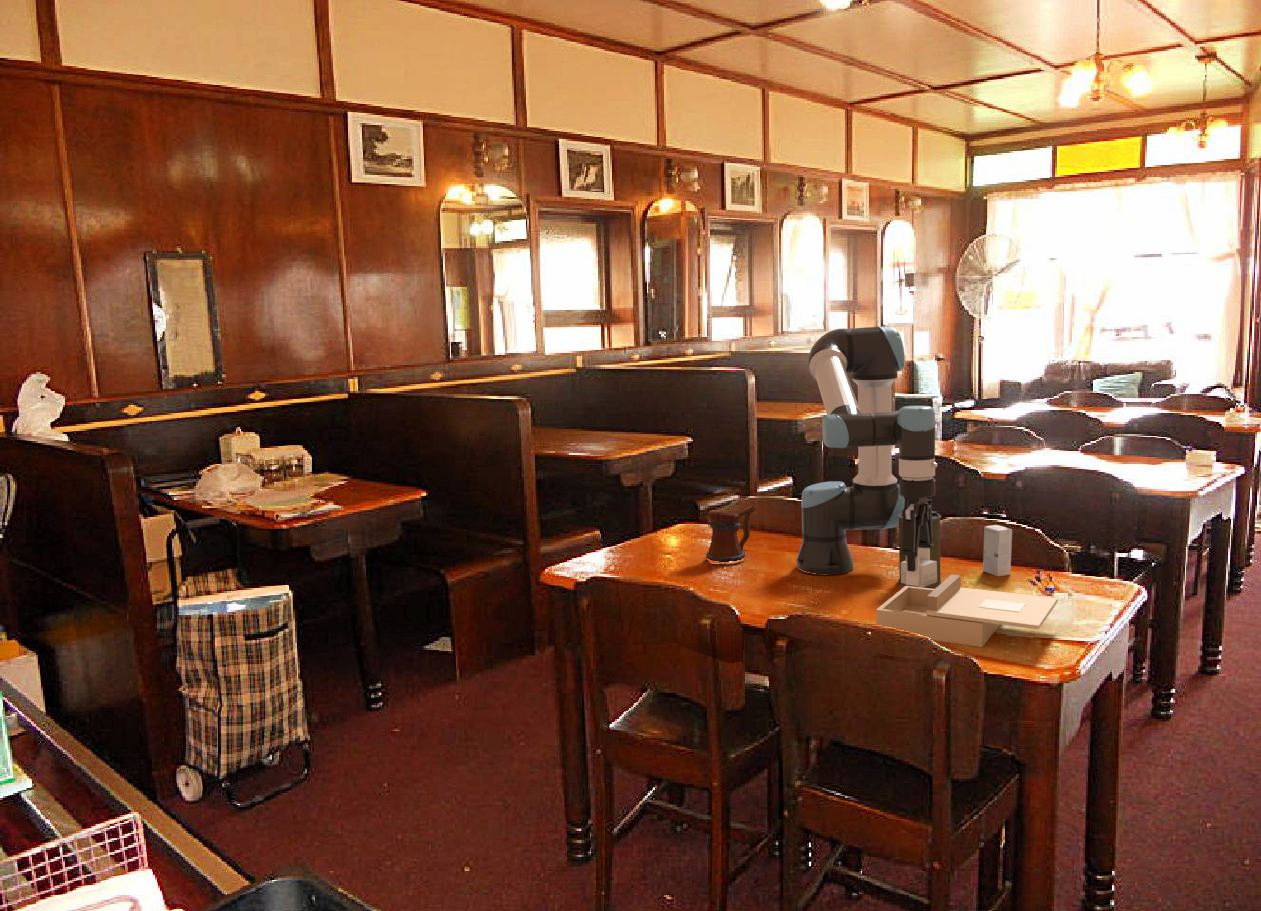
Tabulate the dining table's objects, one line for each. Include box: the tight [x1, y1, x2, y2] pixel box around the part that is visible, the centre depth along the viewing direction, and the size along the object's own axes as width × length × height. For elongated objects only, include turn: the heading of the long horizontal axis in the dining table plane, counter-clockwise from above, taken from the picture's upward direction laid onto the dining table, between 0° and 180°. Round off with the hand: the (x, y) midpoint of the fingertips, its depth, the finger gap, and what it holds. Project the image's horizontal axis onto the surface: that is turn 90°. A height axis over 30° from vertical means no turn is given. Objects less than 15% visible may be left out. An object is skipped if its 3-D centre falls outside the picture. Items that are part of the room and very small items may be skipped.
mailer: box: [875, 586, 1001, 648], centre depth 203 cm, size 22×20×5 cm
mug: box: [705, 504, 757, 562], centre depth 269 cm, size 18×12×15 cm, turn 128°
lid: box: [926, 574, 1059, 630], centre depth 197 cm, size 22×20×4 cm
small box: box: [901, 558, 937, 588], centre depth 205 cm, size 6×6×5 cm
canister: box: [898, 510, 942, 589], centre depth 235 cm, size 11×10×20 cm
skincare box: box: [982, 524, 1013, 577], centre depth 241 cm, size 6×4×12 cm
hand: (918, 580), depth 205 cm, fingers closed on small box, 7 cm apart
